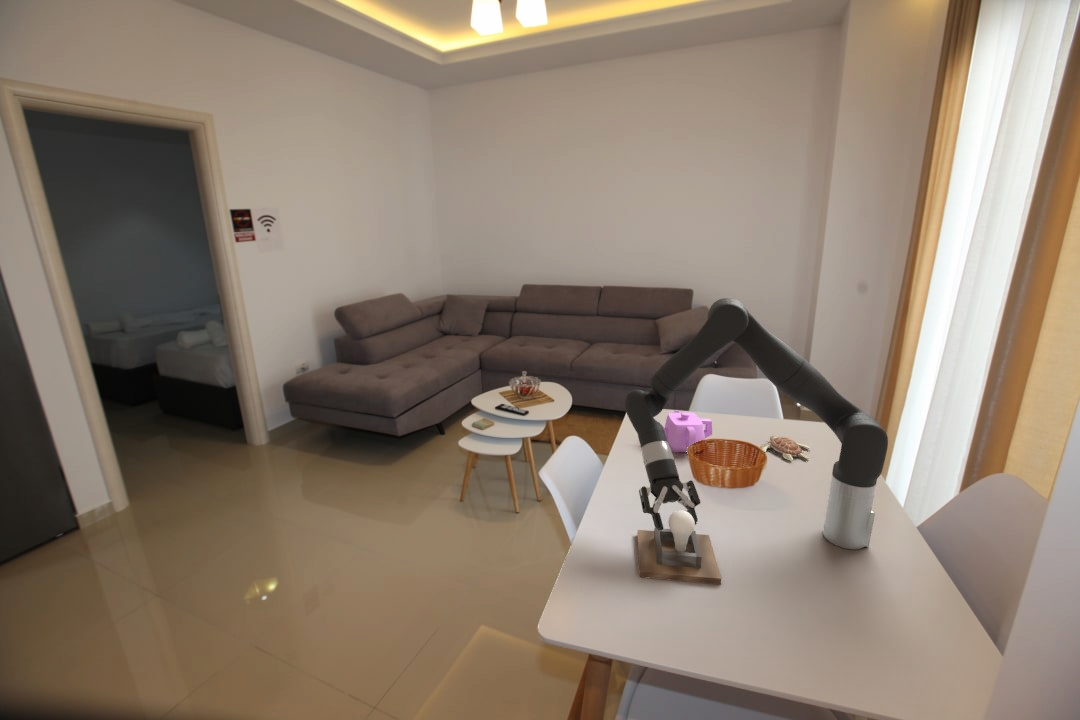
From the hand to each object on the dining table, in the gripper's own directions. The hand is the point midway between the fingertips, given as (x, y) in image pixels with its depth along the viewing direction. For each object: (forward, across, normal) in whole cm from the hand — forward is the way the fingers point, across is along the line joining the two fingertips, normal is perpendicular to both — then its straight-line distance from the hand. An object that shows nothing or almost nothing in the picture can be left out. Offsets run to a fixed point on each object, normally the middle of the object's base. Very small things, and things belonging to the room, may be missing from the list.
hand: (677, 527), depth 116 cm
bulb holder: (+6, 0, +6) cm, 8 cm away
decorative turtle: (-25, +63, +37) cm, 77 cm away
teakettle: (-35, +31, +47) cm, 66 cm away
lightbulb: (+5, +1, +5) cm, 7 cm away
